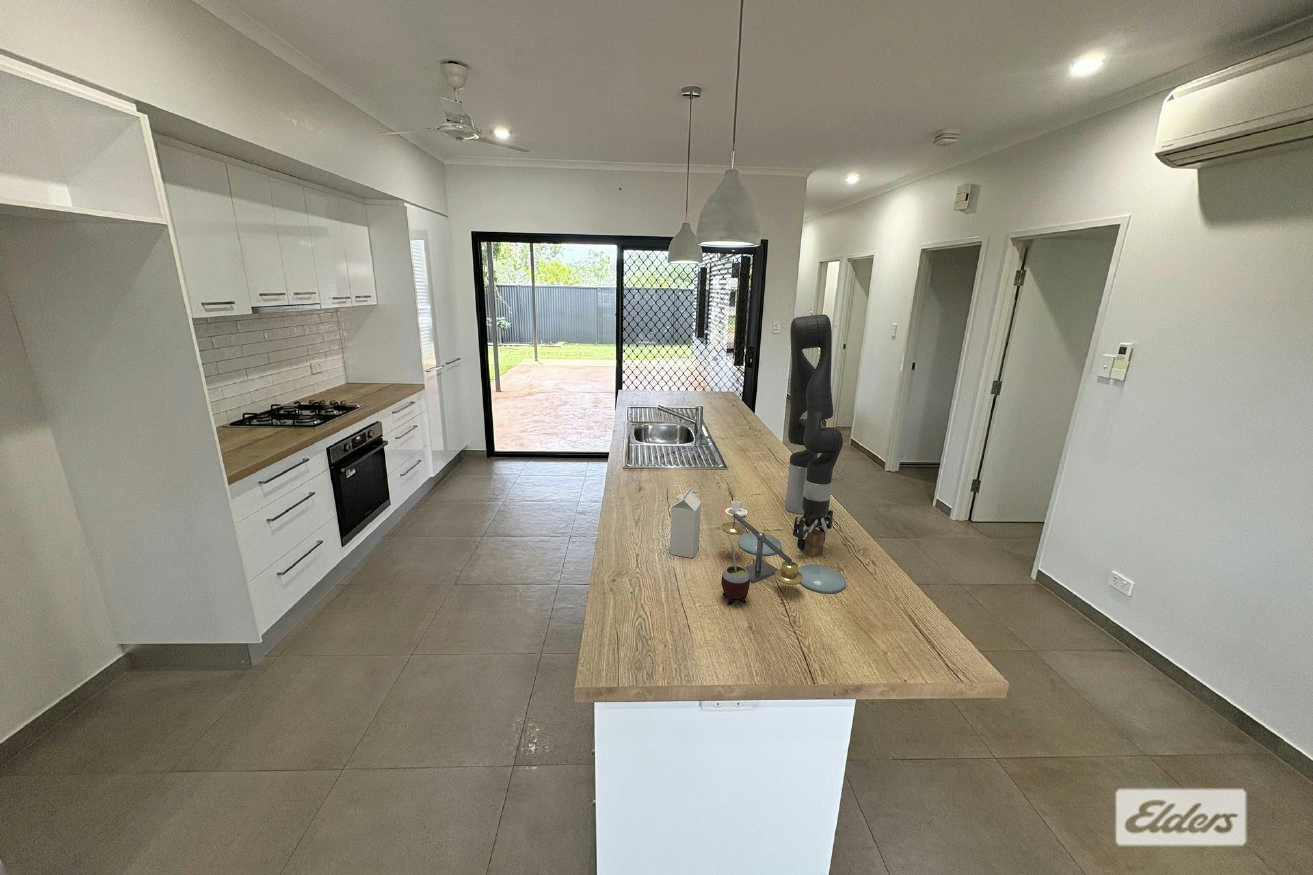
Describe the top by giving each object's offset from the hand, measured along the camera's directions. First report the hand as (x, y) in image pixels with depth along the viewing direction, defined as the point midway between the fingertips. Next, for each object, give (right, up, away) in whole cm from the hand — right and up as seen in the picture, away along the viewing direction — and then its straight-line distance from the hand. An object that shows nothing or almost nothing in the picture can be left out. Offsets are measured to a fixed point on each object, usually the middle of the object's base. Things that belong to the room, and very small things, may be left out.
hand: (810, 545), depth 152 cm
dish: (-2, -6, -14) cm, 15 cm away
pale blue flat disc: (-14, -1, +5) cm, 15 cm away
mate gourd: (-27, -9, -23) cm, 36 cm away
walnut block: (0, -2, +1) cm, 3 cm away
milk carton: (-38, -2, 0) cm, 38 cm away
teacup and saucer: (-20, +5, +27) cm, 34 cm away
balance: (-18, -5, -11) cm, 22 cm away
